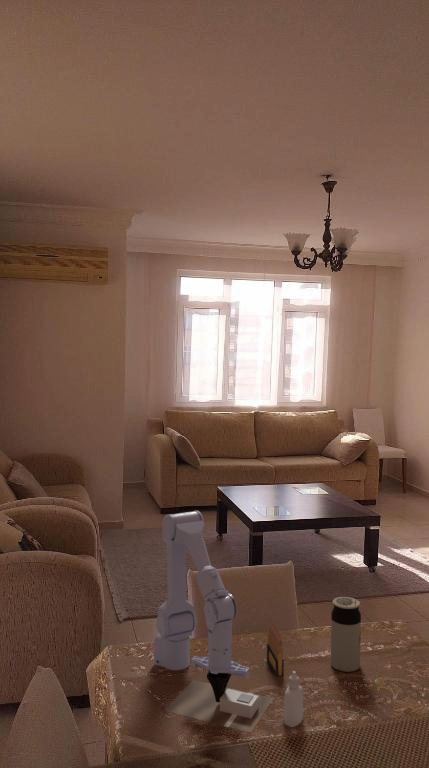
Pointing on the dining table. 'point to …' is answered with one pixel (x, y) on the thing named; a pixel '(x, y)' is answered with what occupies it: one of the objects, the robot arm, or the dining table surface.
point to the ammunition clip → (275, 650)
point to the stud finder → (239, 703)
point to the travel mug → (345, 634)
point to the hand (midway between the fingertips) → (219, 700)
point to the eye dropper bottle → (293, 702)
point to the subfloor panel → (213, 707)
